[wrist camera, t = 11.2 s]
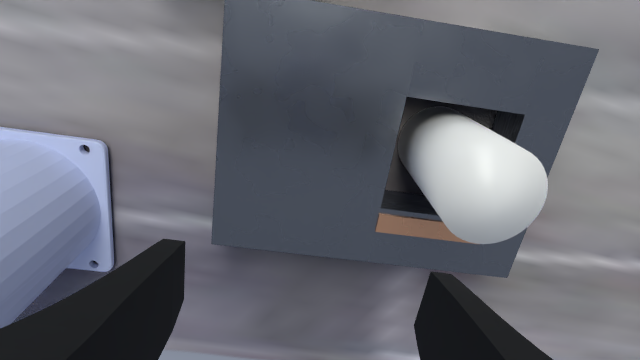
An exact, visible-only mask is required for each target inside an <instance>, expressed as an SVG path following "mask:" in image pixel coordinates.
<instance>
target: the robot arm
mask: <svg viewBox="0 0 640 360" xmlns="http://www.w3.org/2000/svg"><path fill="white" fill-rule="evenodd" d="M83 145H86V146H88V147H89V149H90V152H87V151H86V150H84V147H83ZM93 261H96V262H97V263H98V264H95V263H94V262H93ZM113 266H114V248H113V230H112V212H111V194H110V176H109V158H108V148H107V146H106V144H105V143H104V142H102V141H100V140H96V139H88V138H81V137H73V136H66V135H58V134H51V133H43V132H36V131H28V130H21V129H13V128H6V127H0V360H158V359H159V357H160V355H161V353H162V351H163V349H164V347H165V345H166V343H167V341H168V339H169V337H170V335H171V333H172V331H173V328H174V325H175V323H176V320H177V317H178V314H179V312H180V309H181V306H182V303H183V300H184V272H185V241H178V240H170V239H162V240H161V241H159V242H157V243H156V244H154V245H153V246H151V247H150V248H148V249H147V250H145V251H144V252H142V253H140V254H139V255H137V256H136V257H134V258H133V259H131V260H130V261H128V262H127V263H125V264H123V265H122V266H120V267H119V268H117V269H115V270H114V271H112V272H111V273H109V274H108V275H106V276H104V277H102V278H101V279H99V280H97V281H95V282H94V283H92V284H90V285H88V286H87V287H85V288H83V289H81V290H80V291H78V292H76V293H74V294H73V295H71V296H69V297H67V298H65V299H63V300H61V301H59V302H57V303H55V304H53V305H51V306H49V307H47V308H45V309H43V310H41V311H39V312H37V313H35V314H33V315H30V316H28V317H26V318H24V319H22V320H19V321H17V322H15V323H12V322H13V321H14V320H15V319H16V318H17V317H18V316H19V315H20V314H21V313H22V312H23V311H24V310H25V309H26V308H27V307H28V306H29V305H30V304H31V303H32V302H33V301H34V300H35V299H36V298H37V297H38V296H39V295H40V294H41V293H42V292H43V291H44V290H45V289H46V288H47V287H48V286H49V285H50V284H51V283H52V282H53V281H54V280H55V279H56V278H57V277H58V276H59V275H60V274H61V273H62V272H63V271H64V270H65V269H66V268H71V269H80V270H89V271H99V272H108V271H110V270H111V268H112V267H113ZM11 323H12V324H11ZM414 328H415V334H416V340H417V345H418V350H419V355H420V360H553V359H552V358H550V357H549V356H548V355H546V354H545V353H544V352H542V351H541V350H540V349H538V348H537V347H536V346H535V345H533V344H532V343H531V342H530V341H528V340H527V339H526V338H525V337H523V336H522V335H521V334H520V333H519V332H517V331H516V330H515V329H514V328H513V327H511V326H510V325H509V324H508V323H507V322H506V321H504V320H503V319H502V318H501V317H500V316H499V315H497V314H496V313H495V312H494V311H493V310H492V309H491V308H490V307H488V306H487V305H486V304H485V303H484V302H483V301H482V300H481V299H479V298H478V297H477V296H476V295H475V294H474V293H473V292H472V291H471V290H469V289H468V288H467V287H466V286H465V285H464V284H463V283H461V282H460V281H459V280H458V279H457V278H455V277H454V276H453V275H451V274H446V273H438V272H431V273H430V276H429V279H428V282H427V285H426V289H425V292H424V295H423V298H422V301H421V304H420V308H419V311H418V314H417V317H416V320H415V324H414Z"/></svg>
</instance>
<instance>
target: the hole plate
mask: <svg viewBox="0 0 640 360" xmlns="http://www.w3.org/2000/svg"><path fill="white" fill-rule="evenodd" d="M598 51H599V49H594V48H588V47H582V46H576V45H570V44H564V43H558V42H553V41H547V40H541V39H535V38H529V37H523V36H517V35H511V34H506V33H500V32H494V31H488V30H482V29H476V28H470V27H464V26H459V25H453V24H447V23H441V22H435V21H429V20H423V19H417V18H411V17H406V16H400V15H394V14H388V13H382V12H376V11H370V10H364V9H359V8H353V7H347V6H341V5H335V4H329V3H323V2H317V1H311V0H225V6H224V24H223V42H222V61H221V79H220V97H219V116H218V134H217V152H216V170H215V189H214V207H213V225H212V244H215V245H224V246H233V247H242V248H250V249H259V250H268V251H277V252H285V253H294V254H303V255H312V256H320V257H329V258H338V259H347V260H355V261H364V262H373V263H382V264H391V265H399V266H408V267H417V268H426V269H434V270H443V271H452V272H461V273H469V274H478V275H487V276H496V277H504V278H507V277H508V274H509V272H510V269H511V267H512V264H513V262H514V259H515V257H516V254H517V252H518V249H519V247H520V244H521V242H522V239H523V237H524V234H525V232H526V229H527V228H526V229H524V230H523V231H522V232H520V233H519V234H517V235H515V236H514V237H511V238H509V239H507V240H504V241H501V242H497V243H491V244H476V243H471V242H467V241H465V240H462V239H460V238H458V237H457V236H455V235H454V234H453V233H452V232H451V231H450V230H449V229H448V228H447V227H446V225H445V224H444V222H443V221H442V220H441V218H440V217H439V215H438V214H437V212H436V211H435V209H434V208H433V207H432V205H431V204H430V202H429V201H428V199H427V198H426V197H425V195H420V194H412V193H404V192H397V191H389V190H385V187H386V182H387V178H388V174H389V170H390V165H391V161H392V157H393V153H394V148H395V144H396V140H397V136H398V131H399V127H400V123H401V119H402V114H403V110H404V106H405V102H406V97H413V98H419V99H426V100H432V101H439V102H445V103H452V104H459V105H465V106H472V107H478V108H485V109H491V110H498V111H497V114H496V118H495V121H494V124H493V127H492V131H494V132H495V133H497V134H499V135H501V136H502V137H504V138H506V139H508V140H510V141H511V142H513V143H515V144H517V145H518V146H520V147H522V148H524V149H526V150H527V151H529V152H530V153H532V154H533V155H534V156H535V157H537V158H538V160H539V161H540V162H541V163H542V165H543V167H544V169H545V172H546V175H547V177H548V175H549V172H550V170H551V167H552V165H553V162H554V160H555V157H556V155H557V152H558V150H559V147H560V145H561V143H562V140H563V138H564V135H565V133H566V130H567V128H568V125H569V123H570V120H571V118H572V115H573V113H574V110H575V108H576V105H577V103H578V100H579V98H580V95H581V93H582V90H583V88H584V85H585V83H586V80H587V78H588V75H589V73H590V71H591V68H592V66H593V63H594V61H595V58H596V56H597V53H598Z"/></svg>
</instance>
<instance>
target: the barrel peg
mask: <svg viewBox="0 0 640 360" xmlns="http://www.w3.org/2000/svg"><path fill="white" fill-rule="evenodd" d="M398 154H399V157H400V160H401V162H402V163H403V165H404V166H405V168H406V169H407V171H408V172H409V174H410V175H411V176H412V178H413V179H414V181H415V182H416V184H417V185H418V186H419V188H420V189H421V191H422V192H423V194H424V195H425V197H426V198H427V199H428V201H429V202H430V204H431V205H432V207H433V208H434V209H435V211H436V212H437V214H438V215H439V217H440V218H441V220H442V221H443V222H444V224H445V225H446V227H447V228H448V229H449V230H450V231H451V232H452V233H453V234H454V235H455V236H457V237H458V238H460V239H462V240H465V241H467V242H471V243H476V244H491V243H497V242H501V241H504V240H507V239H509V238H511V237H514V236H515V235H517V234H519V233H520V232H522V231H523V230H524V229H526V228H527V227H528V226H529V225H530V224H531V223H532V222H533V221H534V220H535V219H536V217H537V216H538V214H539V213H540V211H541V209H542V207H543V205H544V203H545V200H546V196H547V191H548V180H547V175H546V172H545V169H544V167H543V165H542V163H541V162H540V161H539V160H538V158H537V157H535V156H534V155H533V154H532V153H530V152H529V151H527V150H526V149H524V148H522V147H520V146H518V145H517V144H515V143H513V142H511V141H510V140H508V139H506V138H504V137H502V136H501V135H499V134H497V133H495V132H494V131H492V130H490V129H488V128H486V127H485V126H483V125H481V124H479V123H478V122H476V121H474V120H472V119H470V118H469V117H467V116H465V115H463V114H462V113H460V112H458V111H456V110H454V109H452V108H449V107H444V106H435V107H429V108H426V109H423V110H421V111H419V112H418V113H416V114H415V115H413V116H412V117H411V118H410V119H409V120H408V121H407V122H406V124H405V125H404V127H403V128H402V130H401V132H400V135H399V139H398Z"/></svg>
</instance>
